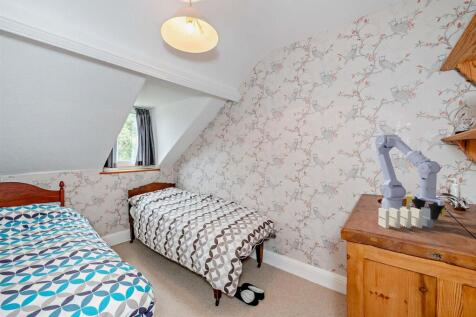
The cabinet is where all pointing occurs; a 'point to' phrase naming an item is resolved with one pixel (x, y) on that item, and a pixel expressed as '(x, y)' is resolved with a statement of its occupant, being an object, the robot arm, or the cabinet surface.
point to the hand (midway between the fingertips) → (427, 216)
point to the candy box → (411, 205)
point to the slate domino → (427, 217)
